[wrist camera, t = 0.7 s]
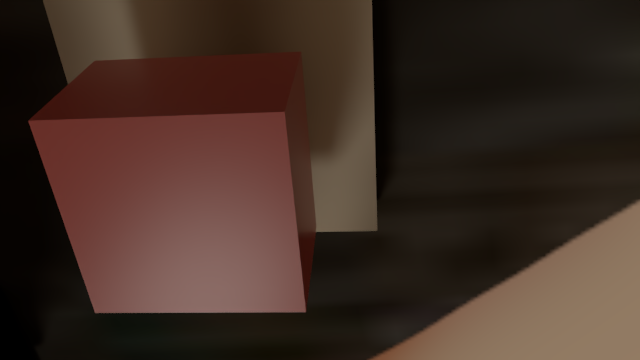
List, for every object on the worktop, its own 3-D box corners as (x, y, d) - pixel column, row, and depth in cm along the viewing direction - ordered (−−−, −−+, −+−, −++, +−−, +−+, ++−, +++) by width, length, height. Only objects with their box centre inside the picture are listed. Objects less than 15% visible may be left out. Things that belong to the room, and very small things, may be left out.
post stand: (126, 212, 24) (55, 331, 19) (62, -17, 20) (-58, 50, 14) (376, 207, 23) (380, 330, 18) (370, -34, 19) (372, 30, 13)
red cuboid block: (140, 229, 20) (95, 312, 17) (94, 60, 17) (28, 120, 14) (316, 226, 20) (306, 312, 16) (301, 51, 17) (284, 111, 13)
